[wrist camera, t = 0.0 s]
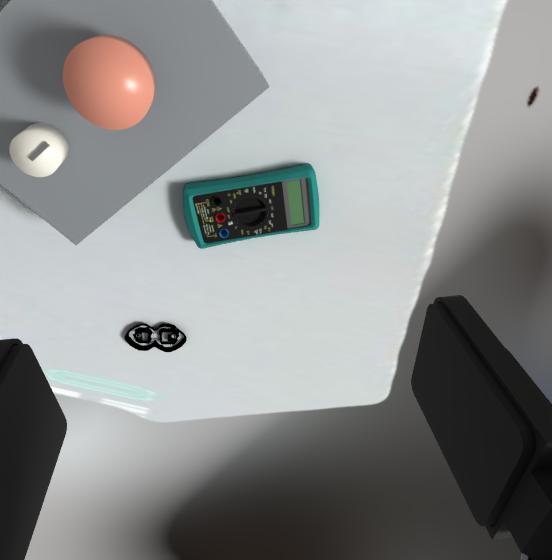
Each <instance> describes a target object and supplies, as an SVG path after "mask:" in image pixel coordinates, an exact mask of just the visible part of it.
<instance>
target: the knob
mask: <svg viewBox="0 0 552 560" xmlns="http://www.w3.org/2000/svg"><path fill="white" fill-rule="evenodd" d="M9 151H10V156H11V158H12V160H13V162H14V163H15V165H16V166H17V167H18V168H19V169H20V170H21V171H23V172H24V173H26V174H28V175H31V176H34V177H46V176H49V175H51V174H53V173H54V172H55V171H56V170H57V168H58V167H59V166H60V165H61V164H62V162H63V161H64V160H65V159H66V158H67V156H68V153H69V144H68V141H67V139H66V137H65V136H64V134H63V133H62V132H61V131H60V130H59V129H58V128H56V127H54V126H53V125H50V124H47V123H34V124H32V125H30V126H29V127H27V128H26V129H25V130H23V131H22V132H21V133H20V134H18V135H17V136H16V137H14V138H13V140H12V141H11V143H10V148H9Z"/></svg>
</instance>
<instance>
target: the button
mask: <svg viewBox="0 0 552 560" xmlns="http://www.w3.org/2000/svg"><path fill="white" fill-rule="evenodd" d="M63 84H64V88H65V91H66V94H67V96H68V99H69V100H70V102H71V104H72V105H73V107H74V108H75V109H76V110H77V112H78V113H79V114H80V115H81V116H83V117H84V118H85V119H86V120H88V121H89V122H91V123H92V124H94V125H96V126H99V127H102V128H105V129H110V130H122V129H127V128H130V127H132V126H134V125H136V124H137V123H138V122H140V121H141V120H142V119H143V118H144V116H145V115H146V114H147V112H148V110H149V108H150V106H151V104H152V102H153V100H154V97H155V92H156V80H155V74H154V71H153V68H152V66H151V64H150V62H149V60H148V59H147V57H146V56H145V55H144V53H143V52H142V51H141V50H140V49H139V48H138V47H137V46H136V45H134V44H133V43H131V42H130V41H128V40H126V39H124V38H121V37H119V36H114V35H99V36H95V37H92V38H90V39H88V40H85V41H83V42H81V43H80V44H78V45H77V46H75V47H74V48H73V49H72V50H71V51H70V53H69V54H68V56H67V58H66V60H65V63H64V67H63Z"/></svg>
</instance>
